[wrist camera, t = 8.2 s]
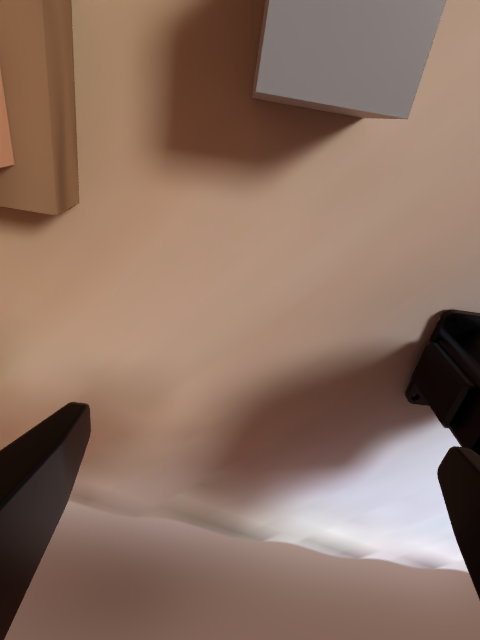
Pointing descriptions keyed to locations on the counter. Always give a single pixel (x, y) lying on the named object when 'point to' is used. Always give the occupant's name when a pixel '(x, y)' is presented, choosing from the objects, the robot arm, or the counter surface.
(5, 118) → the terracotta cube
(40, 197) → the walnut slab
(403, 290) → the counter surface
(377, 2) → the grey cube
